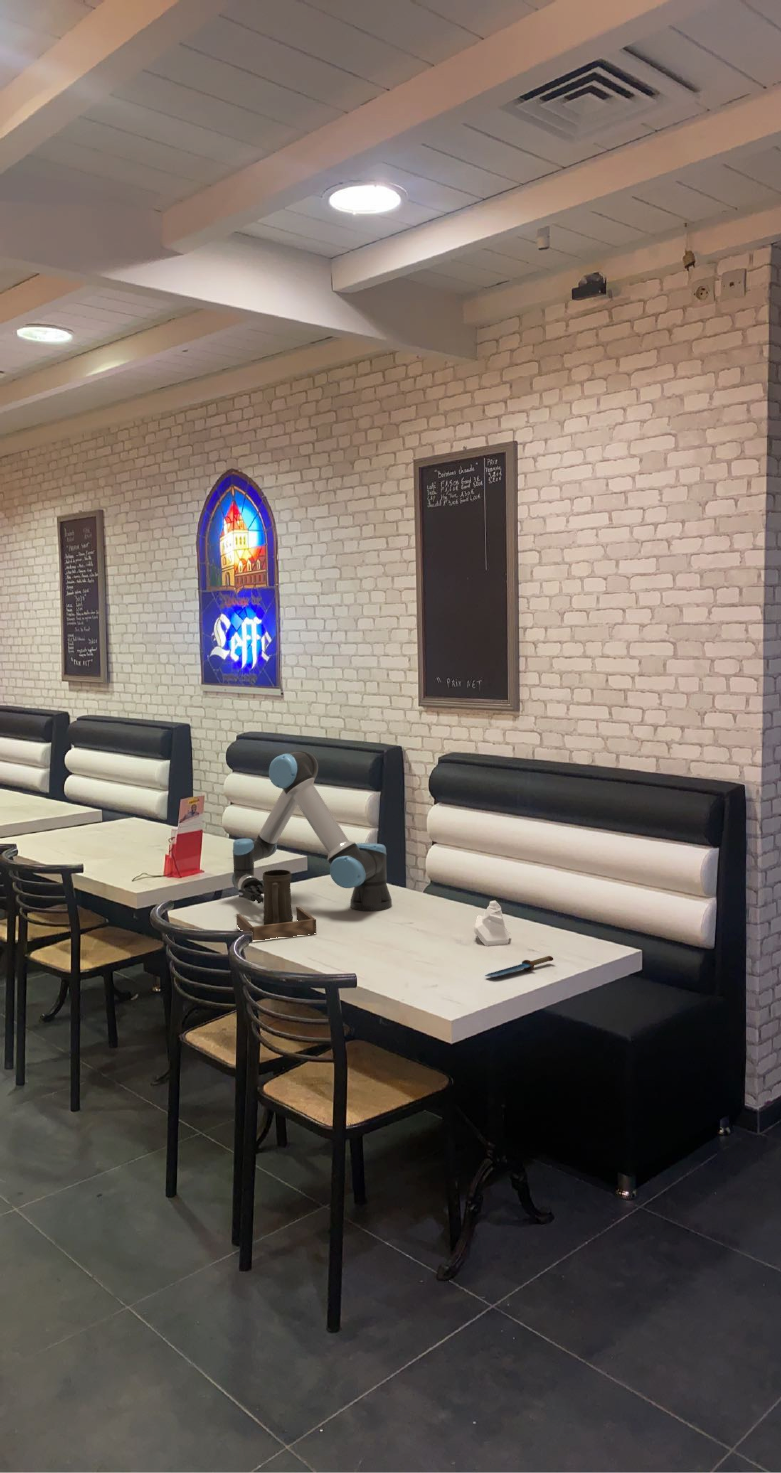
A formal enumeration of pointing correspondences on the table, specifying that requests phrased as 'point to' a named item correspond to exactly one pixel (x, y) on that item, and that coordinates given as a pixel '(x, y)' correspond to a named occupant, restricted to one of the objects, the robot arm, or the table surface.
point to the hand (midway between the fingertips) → (267, 901)
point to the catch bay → (280, 927)
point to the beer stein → (277, 897)
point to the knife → (520, 966)
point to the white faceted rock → (492, 926)
